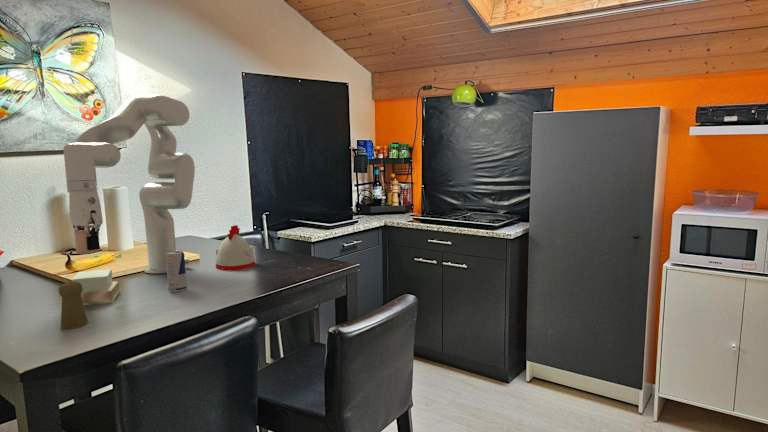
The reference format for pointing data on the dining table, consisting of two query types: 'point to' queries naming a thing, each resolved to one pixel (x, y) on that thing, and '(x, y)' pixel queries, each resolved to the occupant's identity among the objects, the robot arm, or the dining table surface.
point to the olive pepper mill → (72, 306)
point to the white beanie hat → (234, 252)
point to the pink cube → (82, 243)
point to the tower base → (101, 295)
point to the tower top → (94, 280)
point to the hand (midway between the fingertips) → (87, 247)
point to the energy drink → (176, 271)
